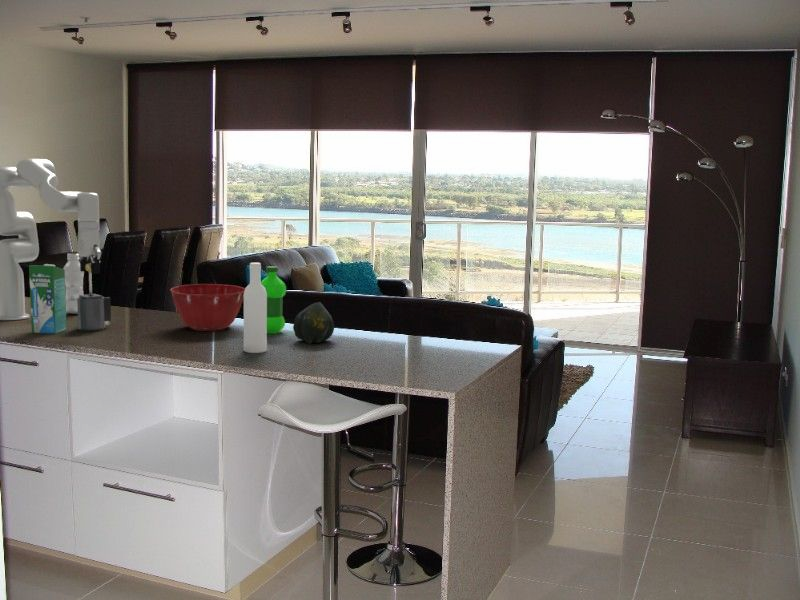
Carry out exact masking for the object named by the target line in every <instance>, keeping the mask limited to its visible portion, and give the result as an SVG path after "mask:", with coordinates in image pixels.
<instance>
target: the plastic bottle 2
mask: <svg viewBox="0 0 800 600" xmlns="http://www.w3.org/2000/svg"><path fill="white" fill-rule="evenodd" d="M265 268H266V272H267V276H266V277H265V278H263V280H261V284H262V285H263V286H264V287H265V290H266V293H267V334H273V335H274V334H278V333H280V332H281V331H282V330H283V329H284V328H285V325H286V319H285V317H284V316H283V314H284V313H283V310H284V309H283V304H284V300H283V297H285V295H286V293H287V286H286V283H285V282H284V281H283V280H282V279H281V278H280V277H278V276H277V273H278V272H279V267H278V266H275V265H274V266H272V265H271V266H266V267H265Z"/></svg>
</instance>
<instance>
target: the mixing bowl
mask: <svg viewBox="0 0 800 600" xmlns="http://www.w3.org/2000/svg"><path fill="white" fill-rule="evenodd" d="M245 289H246V287H242V286H239V285H232V284H231V285H230V284H219V283H215V284H214V283H197V284H194V283H193V284H183V285H177V286H174V287H172V288H170V289H169V291H170V292H171V296H172V298H173V299H172V300H173V303H174V306H175V309H176V311H177V313H178V315H179V317H180V319H181V321H182V322H183V323H184V325H185V326H187V327H188V328H190V329H192V330H194V331H200V332H214V331H215V332H216V331H223V330H225V329H226V328H228V327H229V326H231V325H232V324H233V323H234V321H235V319H237V318H236V317H237V316H238V313H239V312H240V309H241V308H242V304H243V302H244V291H245Z"/></svg>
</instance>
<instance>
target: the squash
mask: <svg viewBox="0 0 800 600" xmlns="http://www.w3.org/2000/svg"><path fill="white" fill-rule="evenodd" d="M292 326H293V327H292V330H293V331H294V335H295V337H296V338H297V339H298V340H302V341H305V343H307V344H309V345H311V344H312V343H315V344H319V343H321V342H324V341H327V340H328V339H330V338H331V337H332V335H333V334H334V331H335V324H334V320H333V317H332V315H331V314H330V312H329V311H328V310H327V309H326V307H325V306H324V304H323V303H322V302H320V301H319V302H314V303H312V304H310V305H308V306H307V307H305V308H304V309H302V310H301V311H300V312H298V314H297V315H296V316H295V319H294V321H293V325H292Z"/></svg>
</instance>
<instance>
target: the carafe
mask: <svg viewBox="0 0 800 600" xmlns="http://www.w3.org/2000/svg"><path fill="white" fill-rule="evenodd" d="M111 305H112V304H111V297H110V296H107V297H105V296H103V295H101V294H96V293H92V296H89V294H83V295H79V297H78V298H77V309H78V314H77V328H78V331H80V332H98V331H103V330H105V328H106V325H105V321H109V322H111V321H112V315H111V311H112V310H111V307H112V306H111Z"/></svg>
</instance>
